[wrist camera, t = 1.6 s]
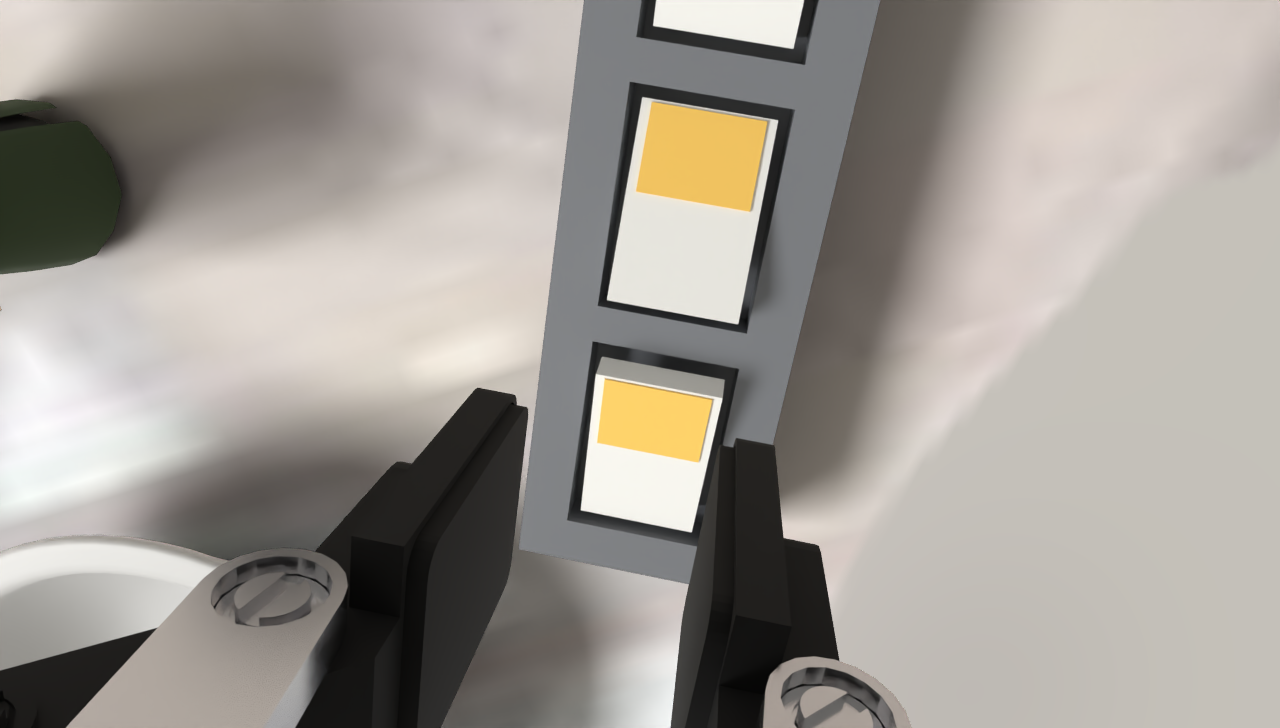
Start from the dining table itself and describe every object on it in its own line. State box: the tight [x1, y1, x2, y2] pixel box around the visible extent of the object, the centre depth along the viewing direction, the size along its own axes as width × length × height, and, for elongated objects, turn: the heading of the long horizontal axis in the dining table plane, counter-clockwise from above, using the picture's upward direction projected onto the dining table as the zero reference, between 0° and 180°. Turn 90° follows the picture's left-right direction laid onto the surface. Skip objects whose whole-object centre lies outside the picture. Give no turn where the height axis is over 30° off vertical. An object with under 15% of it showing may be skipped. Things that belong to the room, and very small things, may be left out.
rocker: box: [581, 357, 725, 533], centre depth 27 cm, size 6×4×1 cm, turn 171°
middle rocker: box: [607, 97, 778, 324], centre depth 24 cm, size 6×4×1 cm, turn 171°
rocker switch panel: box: [519, 0, 880, 584], centre depth 25 cm, size 32×8×5 cm, turn 171°
